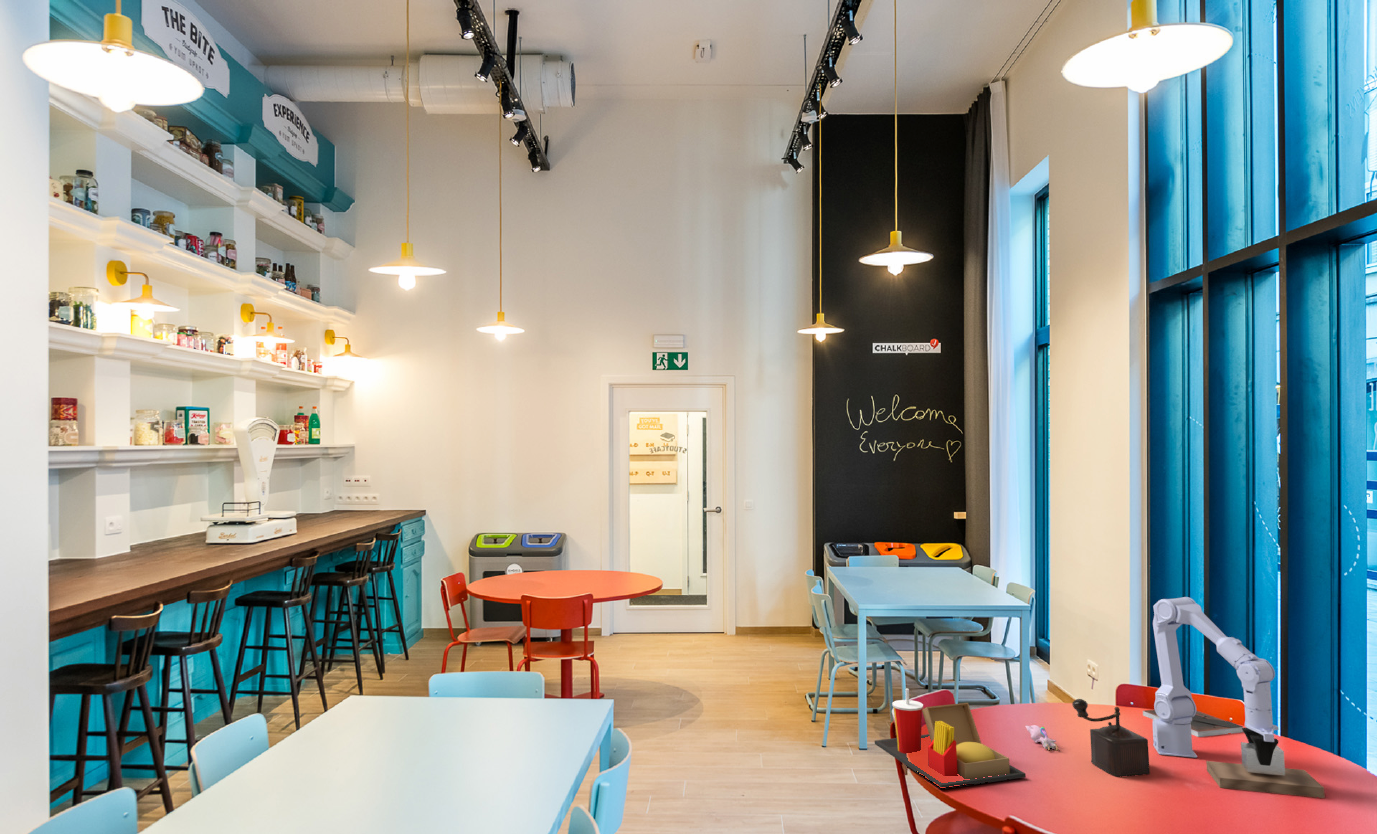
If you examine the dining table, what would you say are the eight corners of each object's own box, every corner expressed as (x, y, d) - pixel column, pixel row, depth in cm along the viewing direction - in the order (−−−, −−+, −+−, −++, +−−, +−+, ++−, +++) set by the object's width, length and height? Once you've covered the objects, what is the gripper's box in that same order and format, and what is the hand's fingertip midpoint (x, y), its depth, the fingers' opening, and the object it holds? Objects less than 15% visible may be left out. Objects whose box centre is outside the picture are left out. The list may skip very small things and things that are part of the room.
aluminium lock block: (1248, 771, 202) (1246, 747, 202) (1242, 765, 206) (1240, 742, 206) (1285, 775, 199) (1283, 751, 199) (1278, 769, 203) (1277, 745, 204)
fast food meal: (941, 793, 201) (938, 719, 203) (874, 747, 235) (872, 684, 236) (1025, 781, 208) (1022, 709, 209) (949, 738, 242) (946, 676, 243)
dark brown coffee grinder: (1123, 759, 221) (1119, 694, 222) (1151, 774, 210) (1147, 705, 211) (1072, 763, 218) (1068, 697, 220) (1097, 778, 207) (1094, 709, 209)
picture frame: (1243, 734, 241) (1185, 713, 262) (1243, 726, 241) (1185, 705, 262) (1198, 739, 237) (1143, 717, 258) (1197, 731, 237) (1142, 709, 258)
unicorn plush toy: (1063, 756, 227) (1038, 730, 242) (1064, 736, 227) (1038, 712, 242) (1042, 757, 227) (1018, 731, 242) (1043, 737, 227) (1019, 713, 242)
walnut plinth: (1220, 787, 200) (1219, 777, 200) (1206, 770, 212) (1206, 760, 212) (1324, 798, 193) (1323, 787, 193) (1305, 779, 204) (1304, 769, 204)
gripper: (1287, 717, 195) (1290, 773, 194) (1266, 700, 209) (1269, 753, 208) (1253, 714, 198) (1257, 770, 197) (1235, 698, 211) (1238, 750, 210)
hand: (1261, 761), depth 203 cm, fingers closed on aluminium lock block, 4 cm apart
